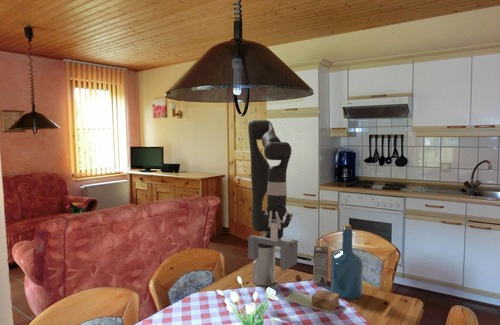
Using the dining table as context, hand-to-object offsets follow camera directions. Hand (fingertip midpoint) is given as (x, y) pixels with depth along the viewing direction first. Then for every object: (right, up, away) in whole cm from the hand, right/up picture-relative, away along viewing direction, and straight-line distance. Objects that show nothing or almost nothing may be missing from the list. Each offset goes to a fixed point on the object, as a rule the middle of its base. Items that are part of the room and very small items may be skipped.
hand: (275, 237), depth 139 cm
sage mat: (+14, -27, +3) cm, 31 cm away
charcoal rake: (-2, -10, +1) cm, 10 cm away
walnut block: (+19, -27, 0) cm, 33 cm away
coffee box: (+22, -27, +26) cm, 43 cm away
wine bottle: (+31, -27, +13) cm, 43 cm away
